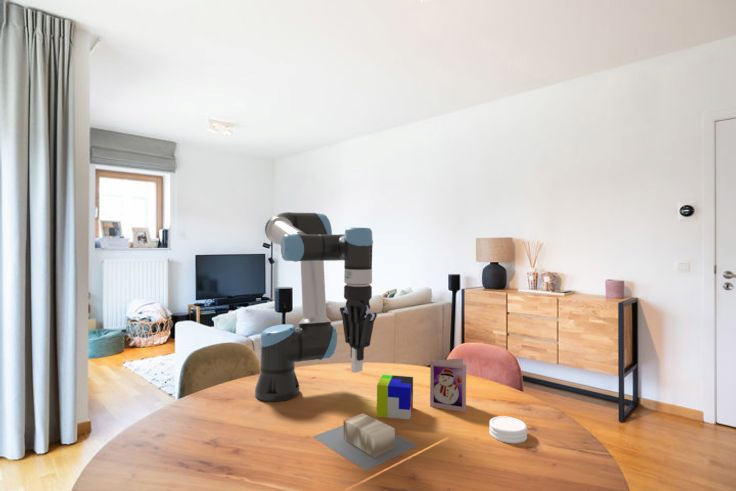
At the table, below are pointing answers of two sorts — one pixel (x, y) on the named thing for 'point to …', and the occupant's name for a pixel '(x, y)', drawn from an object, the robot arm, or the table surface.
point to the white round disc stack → (508, 429)
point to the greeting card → (448, 384)
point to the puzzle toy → (395, 396)
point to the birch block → (369, 434)
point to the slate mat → (355, 454)
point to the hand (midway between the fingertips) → (356, 370)
